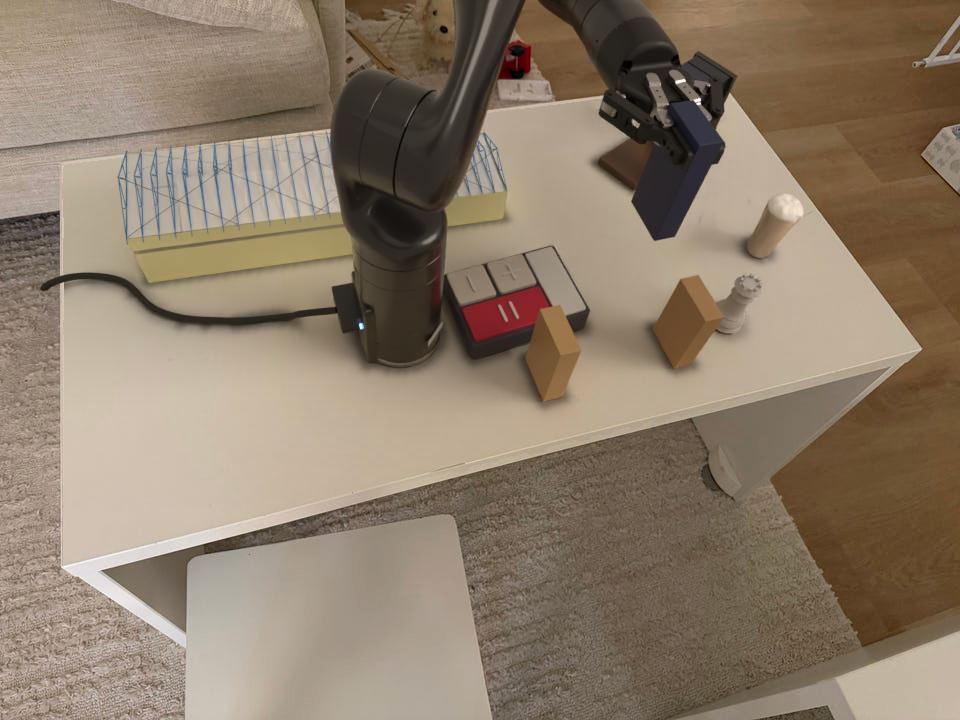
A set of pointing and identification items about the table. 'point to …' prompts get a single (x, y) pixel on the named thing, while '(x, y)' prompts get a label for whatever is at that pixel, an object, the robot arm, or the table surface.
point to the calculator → (511, 299)
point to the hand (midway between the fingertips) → (703, 159)
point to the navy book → (675, 174)
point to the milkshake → (774, 224)
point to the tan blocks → (676, 329)
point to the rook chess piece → (738, 303)
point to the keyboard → (259, 204)
